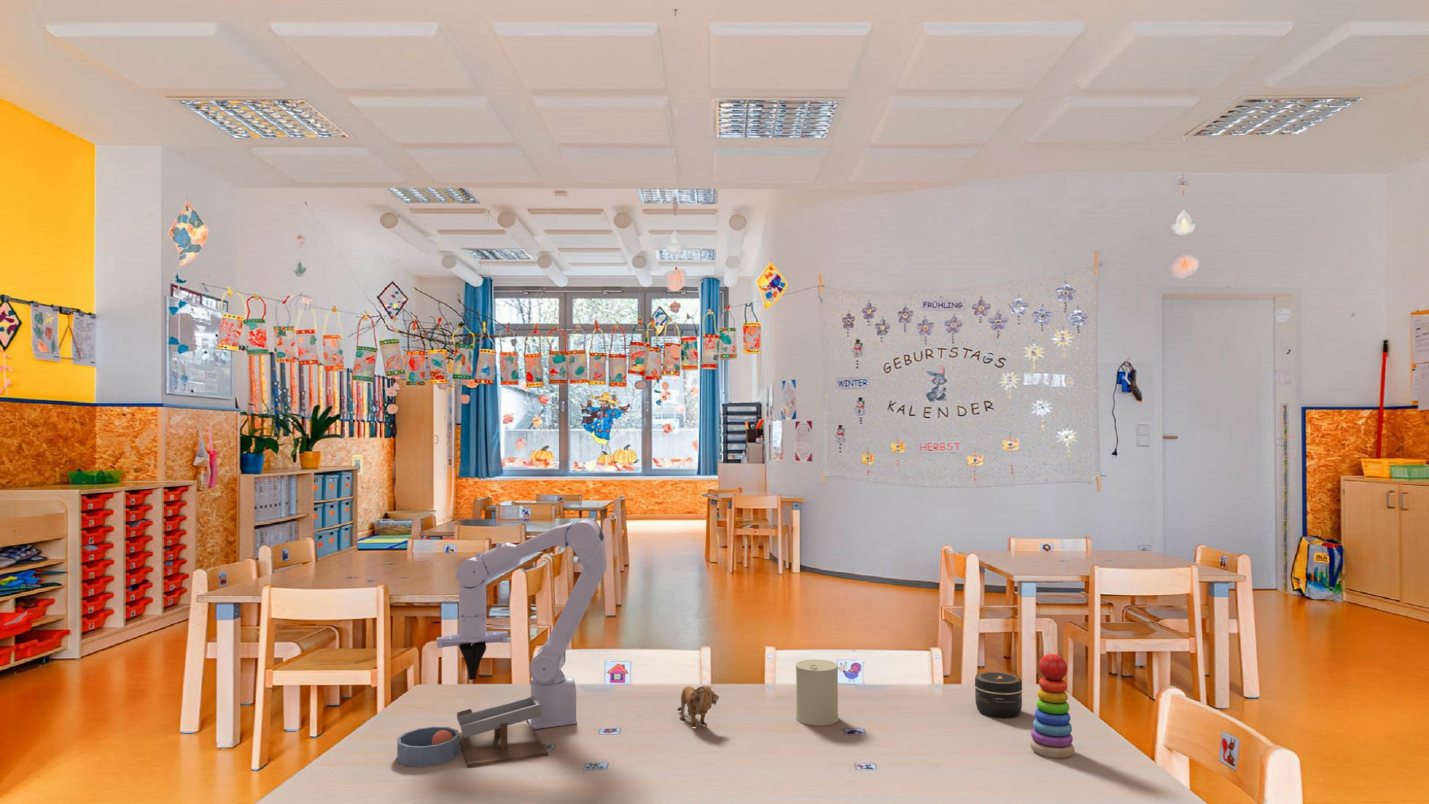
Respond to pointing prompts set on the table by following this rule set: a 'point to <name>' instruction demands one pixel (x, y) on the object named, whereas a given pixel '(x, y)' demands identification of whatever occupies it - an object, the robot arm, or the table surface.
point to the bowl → (426, 747)
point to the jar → (998, 694)
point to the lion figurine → (697, 702)
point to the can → (817, 692)
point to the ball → (441, 737)
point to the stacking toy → (1052, 711)
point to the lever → (498, 716)
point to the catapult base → (501, 745)
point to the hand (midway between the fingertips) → (472, 678)
